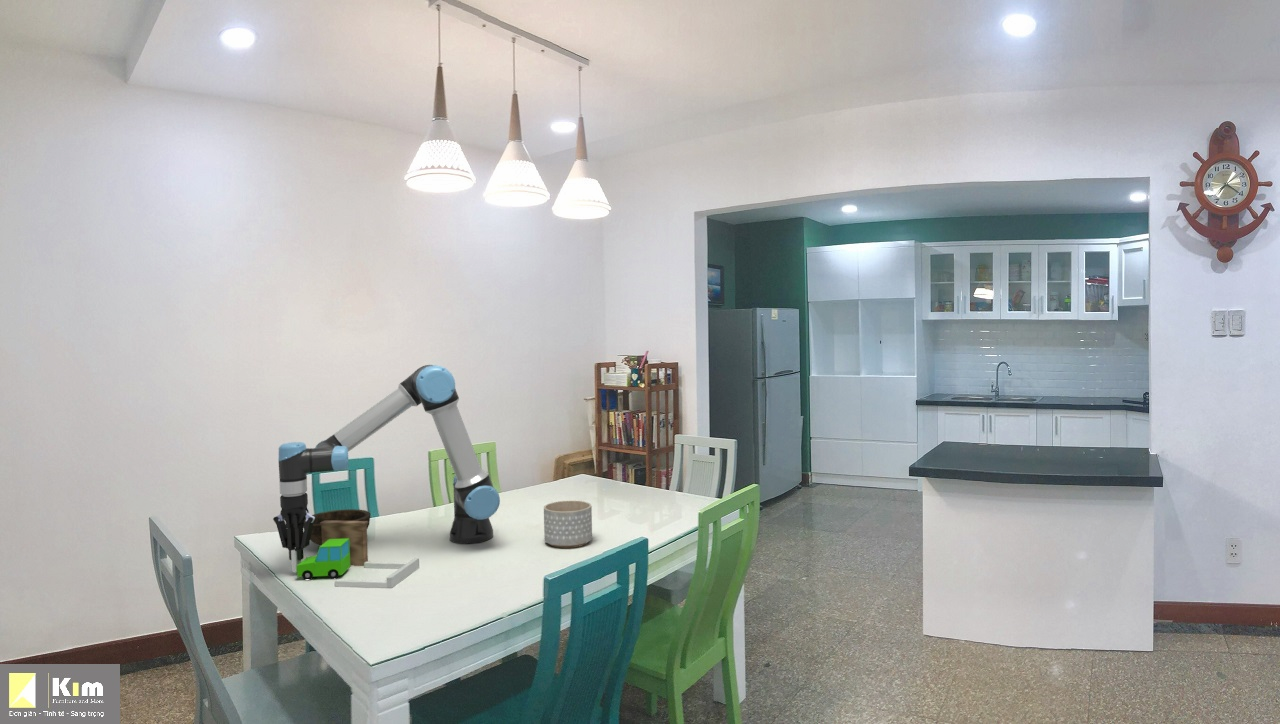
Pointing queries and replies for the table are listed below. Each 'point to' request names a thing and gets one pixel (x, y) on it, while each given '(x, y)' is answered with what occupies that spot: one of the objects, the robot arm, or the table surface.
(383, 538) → the table surface
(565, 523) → the planter
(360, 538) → the brown textured panel
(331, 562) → the toy car
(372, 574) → the table surface
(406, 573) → the bay
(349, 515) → the bowl
